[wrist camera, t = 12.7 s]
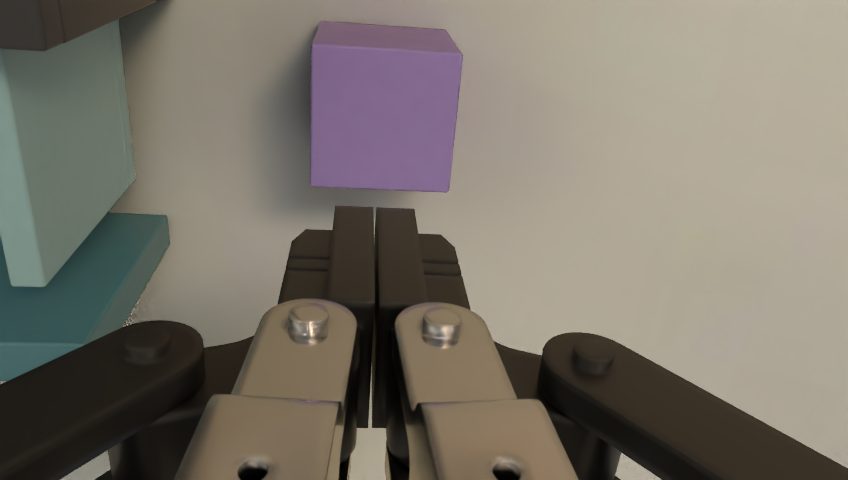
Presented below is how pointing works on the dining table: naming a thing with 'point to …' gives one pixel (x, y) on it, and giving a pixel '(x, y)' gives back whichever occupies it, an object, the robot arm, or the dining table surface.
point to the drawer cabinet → (57, 20)
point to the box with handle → (67, 201)
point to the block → (383, 107)
